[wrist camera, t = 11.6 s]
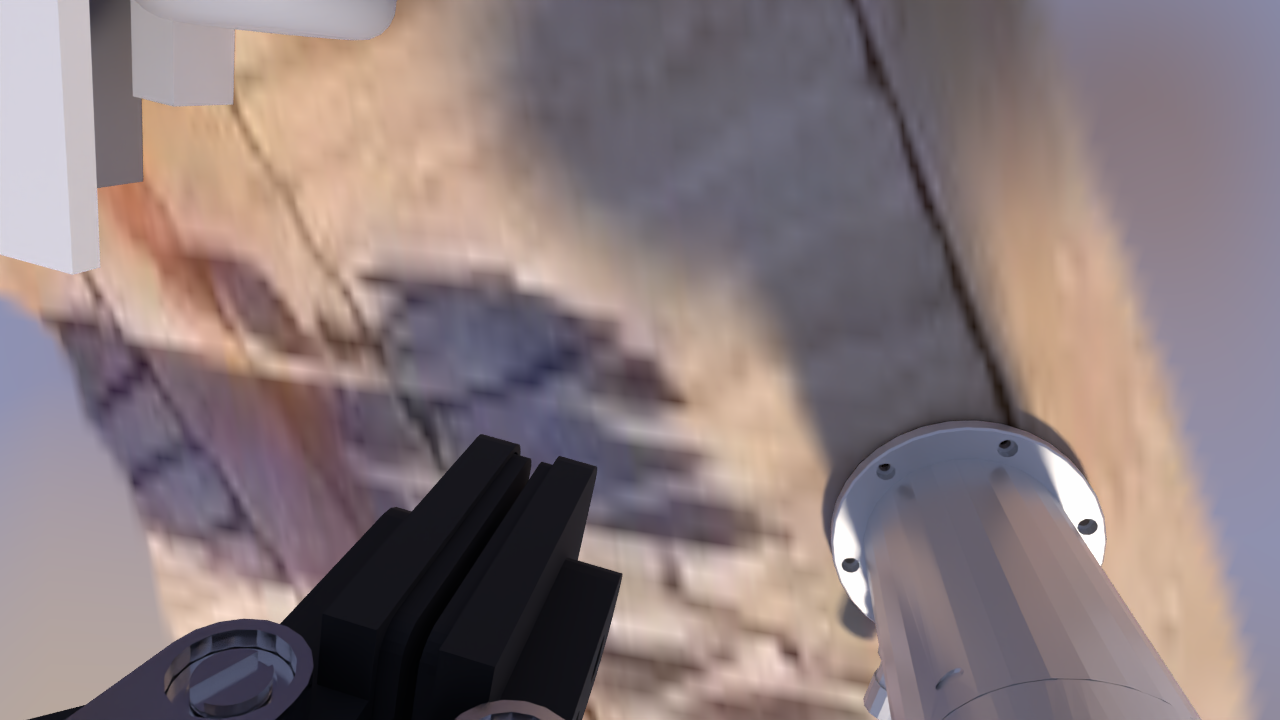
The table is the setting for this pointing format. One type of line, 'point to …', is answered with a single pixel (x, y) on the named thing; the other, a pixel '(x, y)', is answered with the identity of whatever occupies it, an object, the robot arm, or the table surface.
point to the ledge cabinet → (88, 112)
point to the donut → (283, 16)
